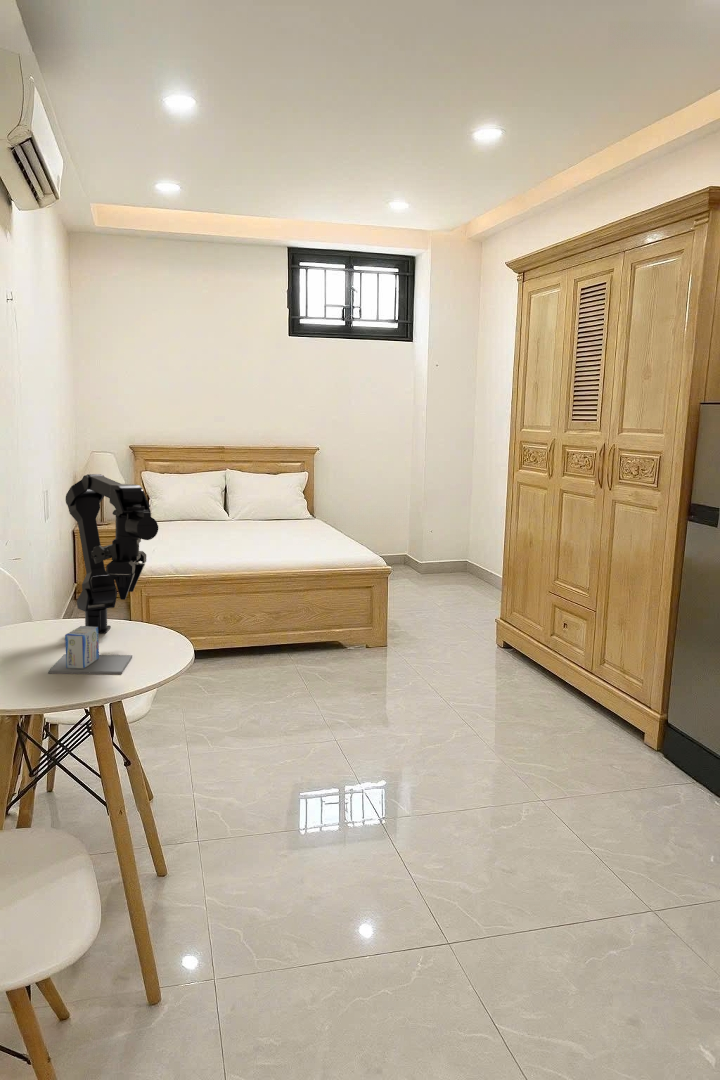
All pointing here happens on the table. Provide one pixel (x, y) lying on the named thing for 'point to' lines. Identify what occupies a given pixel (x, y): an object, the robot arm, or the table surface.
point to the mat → (95, 665)
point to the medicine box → (81, 647)
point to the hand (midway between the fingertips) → (126, 595)
